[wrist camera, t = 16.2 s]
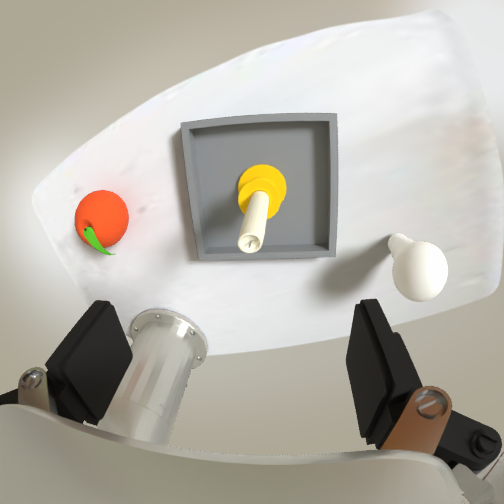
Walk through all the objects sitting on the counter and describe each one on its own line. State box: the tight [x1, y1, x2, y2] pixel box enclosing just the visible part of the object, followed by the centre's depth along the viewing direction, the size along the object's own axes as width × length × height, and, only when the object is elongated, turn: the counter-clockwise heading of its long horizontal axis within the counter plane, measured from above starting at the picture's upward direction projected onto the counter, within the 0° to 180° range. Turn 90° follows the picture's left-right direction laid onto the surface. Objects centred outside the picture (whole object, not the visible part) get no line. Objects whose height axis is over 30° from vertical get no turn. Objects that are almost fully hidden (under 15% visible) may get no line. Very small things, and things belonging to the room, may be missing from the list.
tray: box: [181, 113, 338, 261], centre depth 30 cm, size 16×16×2 cm
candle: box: [238, 164, 287, 253], centre depth 24 cm, size 5×5×16 cm
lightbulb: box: [388, 233, 448, 302], centre depth 28 cm, size 6×6×11 cm
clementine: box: [75, 190, 129, 255], centre depth 31 cm, size 8×7×7 cm
